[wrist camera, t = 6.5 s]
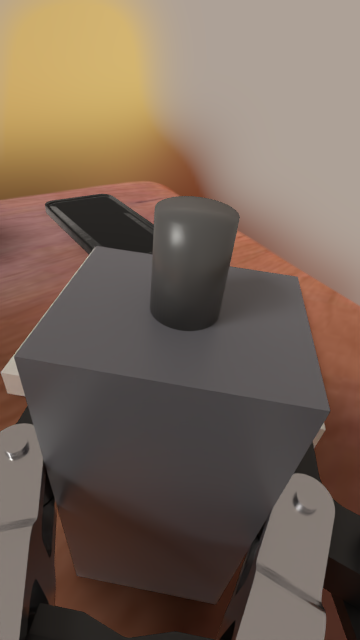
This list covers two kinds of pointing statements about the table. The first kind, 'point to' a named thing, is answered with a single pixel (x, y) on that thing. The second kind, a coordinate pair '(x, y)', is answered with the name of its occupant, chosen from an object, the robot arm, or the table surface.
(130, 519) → the plug
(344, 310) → the table surface
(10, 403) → the table surface
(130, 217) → the phone
